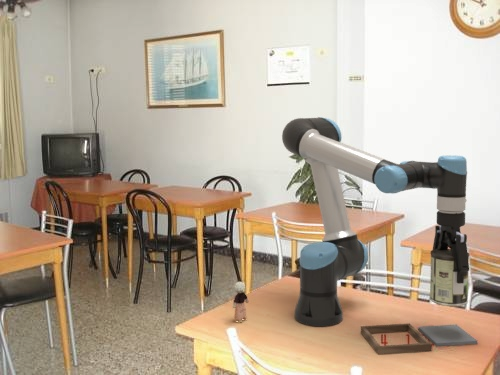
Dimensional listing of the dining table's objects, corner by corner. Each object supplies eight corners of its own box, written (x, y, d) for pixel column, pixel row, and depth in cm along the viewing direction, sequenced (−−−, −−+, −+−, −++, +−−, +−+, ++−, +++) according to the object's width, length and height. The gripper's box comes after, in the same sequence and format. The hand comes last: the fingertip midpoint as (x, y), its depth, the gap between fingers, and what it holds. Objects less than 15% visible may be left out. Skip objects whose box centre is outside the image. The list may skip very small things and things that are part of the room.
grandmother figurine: (239, 316, 175) (239, 278, 173) (250, 317, 173) (250, 279, 172) (229, 324, 168) (228, 285, 166) (240, 326, 166) (239, 286, 165)
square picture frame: (360, 332, 160) (360, 326, 160) (409, 329, 162) (409, 323, 161) (378, 354, 145) (378, 347, 145) (431, 351, 147) (431, 344, 147)
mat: (418, 329, 161) (418, 326, 161) (456, 327, 163) (456, 324, 163) (436, 346, 150) (436, 343, 149) (477, 344, 151) (477, 340, 151)
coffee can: (463, 295, 159) (465, 248, 157) (470, 307, 149) (472, 257, 147) (427, 293, 161) (428, 247, 159) (431, 305, 151) (433, 256, 149)
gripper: (485, 217, 141) (482, 300, 143) (444, 204, 163) (442, 275, 166) (458, 218, 140) (455, 301, 143) (421, 205, 162) (419, 277, 165)
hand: (448, 287), depth 154 cm, fingers closed on coffee can, 10 cm apart
